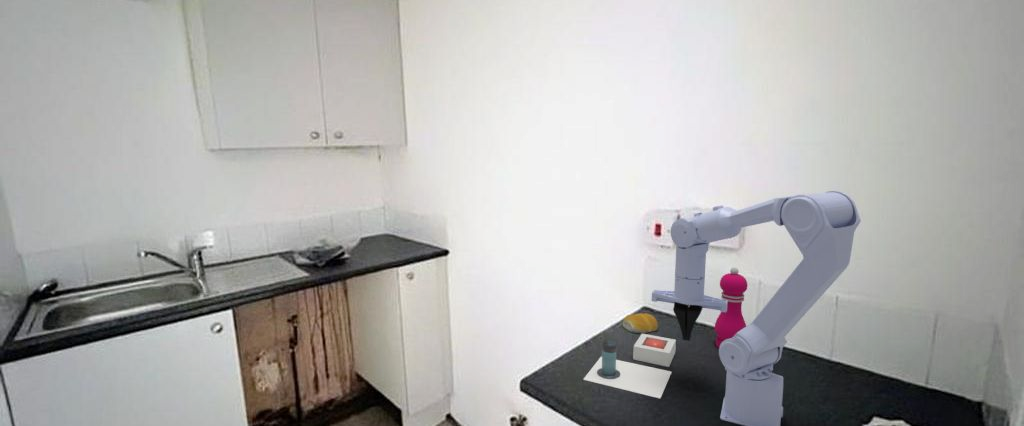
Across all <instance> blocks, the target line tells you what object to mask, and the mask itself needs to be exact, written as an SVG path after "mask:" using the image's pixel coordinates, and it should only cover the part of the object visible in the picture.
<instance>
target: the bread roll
mask: <svg viewBox="0 0 1024 426" xmlns="http://www.w3.org/2000/svg"><path fill="white" fill-rule="evenodd" d="M622 326H623V328H624V329H626V331H628V332H630V333H634V334H647V333H653V332H655V331H657V330H658V326H659V323H658V321H657V319H656V318H655V317H654V316H653V315H652V314H650V313H636V314H628V315H626V316H625V317H624V318H623V320H622Z"/></svg>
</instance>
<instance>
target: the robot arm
mask: <svg viewBox="0 0 1024 426" xmlns="http://www.w3.org/2000/svg"><path fill="white" fill-rule="evenodd" d="M770 222H774V223H775V224H776V225H777V226H779V227H781V226H784V227H785V229H786V231H787V233H788V234H789V236H790V237H791V239H792V240H793V242H794V243H795V245H796V247H797V248H798V250H799V251H800V253H801V255H802V258H803V259H802V260H801V261H800V263H799V264H798V265H797V266H796V267H795V268H794V270H793V271H792V272H791V274H790V275H789V276H788V277H787V278H786V280H785V281H784V282H783V283H782V284H781V286H780V287H779V288H778V289H777V290H776V292H775V293H774V295H773V296H772V297H771V298H770V300H769V301H768V302H767V303H766V304H765V306H764V307H763V308H762V309H761V311H760V312H759V313H758V314H757V316H756V317H755V318H754V319H753V320H752V322H750V323H749V324H748V325H746V327H745V328H743V329H742V330H740V331H739V332H737V333H736V334H735V336H734V337H732V338H730V339H726V340H724V341H723V342H722V343H721V344H720V347H719V348H718V357H719V359H720V362H721V363H722V365H723V366H724V370H725V371H726V379H725V380H726V381H725V394H724V397H723V401H722V404H721V405H722V407H721V411H720V416H719V418H720V420H721V421H726V422H730V423H733V424H737V425H741V426H781V419H782V418H783V417H784V406H783V397H784V396H783V395H784V394H783V393H784V377H783V375H779V374H776V373H774V372H772V371H774V364H776V363H778V362H779V360H781V358H782V354H783V353H782V352H783V349H784V347H785V345H786V344H787V343H788V340H787V338H786V336H787V335H788V334H789V333H790V332H791V331H792V330H793V328H794V327H795V326H796V325H797V324H798V323H799V322H800V320H801V319H803V317H804V316H805V315H806V314H807V313H808V311H810V309H811V308H812V307H813V306H814V305H815V304H816V303H817V302H818V300H819V299H820V298H821V297H822V296H823V295H824V294H825V293H826V292H827V291H828V289H829V288H830V287H832V285H833V284H834V283H835V281H836V280H837V279H838V278H839V277H841V275H842V274H843V273H844V271H845V270H847V268H848V266H849V264H850V262H851V261H850V260H851V255H852V249H853V248H852V247H853V243H854V236H855V232H856V230H857V228H858V226H859V225H860V223H861V218H860V214H859V212H858V209H857V205H856V202H855V201H854V199H852V198H851V196H850V195H848V194H847V193H845V192H842V191H839V190H830V191H825V192H821V193H811V194H809V193H808V194H804V193H802V194H796V195H793V196H792V195H791V196H784V197H776V198H772V199H768V200H765V201H762V202H759V203H756V204H753V205H751V206H747V207H744V208H741V209H739V210H735V209H734V208H732V207H729V206H724V205H716V206H713V207H712V210H711V211H708V212H705V213H702V212H696V213H694V215H693V217H687V218H683V217H680V218H678V219H677V220H675V221H674V222H673V223H672V225H671V226H670V237H671V241H672V242H673V243H674V244H675V245H676V246H675V265H674V266H675V268H674V290H657V289H654V290H652V292H651V302H655V303H656V302H662V303H669V304H673V308H672V311H673V313H674V315H675V317H676V319H677V321H678V324H679V327H680V331H681V338H682V340H683V341H688V342H689V341H691V338H692V333H693V329H694V326H695V324H696V322H697V320H698V318H699V317H700V315H701V313H702V310H703V309H709V310H715V311H720V313H721V312H727V303H728V300H723V299H722V298H718V297H713V296H710V295H705V281H706V264H707V253H708V252H709V246H710V243H713V242H718V241H721V240H728V239H732V238H735V237H737V236H739V235H740V233H741V230H742V228H746V227H752V226H756V225H760V224H765V223H770Z"/></svg>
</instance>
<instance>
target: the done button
mask: <svg viewBox="0 0 1024 426" xmlns="http://www.w3.org/2000/svg"><path fill="white" fill-rule="evenodd" d="M646 346H650V347H655V348H660V349H664V342H663V341H662V340H659V339H648V340H646Z"/></svg>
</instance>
